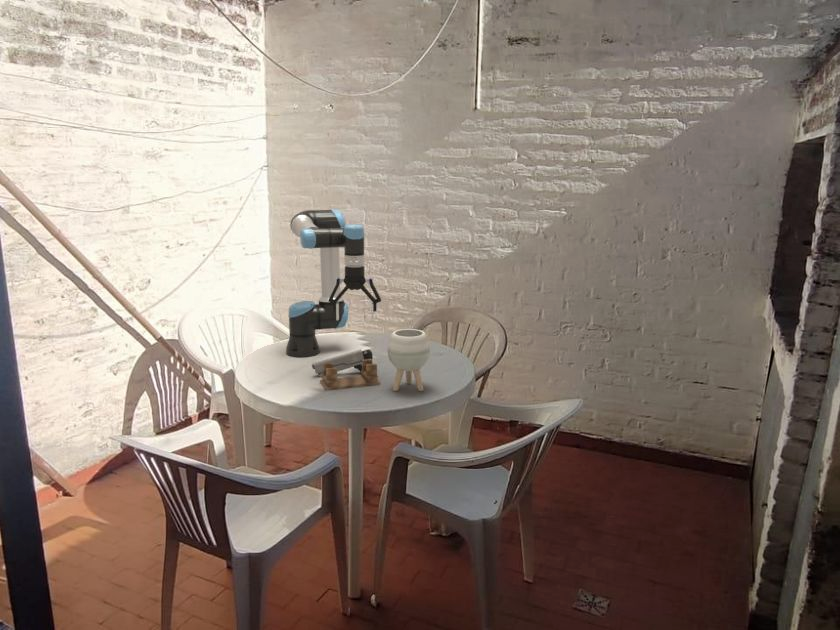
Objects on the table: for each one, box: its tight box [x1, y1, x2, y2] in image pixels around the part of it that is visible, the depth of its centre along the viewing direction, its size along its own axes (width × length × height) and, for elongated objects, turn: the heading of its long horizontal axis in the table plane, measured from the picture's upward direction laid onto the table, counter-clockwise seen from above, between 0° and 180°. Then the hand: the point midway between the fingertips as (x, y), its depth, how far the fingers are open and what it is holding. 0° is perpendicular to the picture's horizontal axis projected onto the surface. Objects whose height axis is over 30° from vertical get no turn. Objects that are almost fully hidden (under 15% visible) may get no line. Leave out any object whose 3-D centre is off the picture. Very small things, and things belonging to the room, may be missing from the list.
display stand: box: [319, 359, 381, 391], centre depth 252 cm, size 22×10×8 cm, turn 110°
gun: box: [311, 348, 374, 378], centre depth 263 cm, size 2×25×10 cm, turn 105°
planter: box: [387, 328, 431, 392], centre depth 245 cm, size 16×16×22 cm
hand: (355, 319), depth 249 cm, fingers open, 13 cm apart
